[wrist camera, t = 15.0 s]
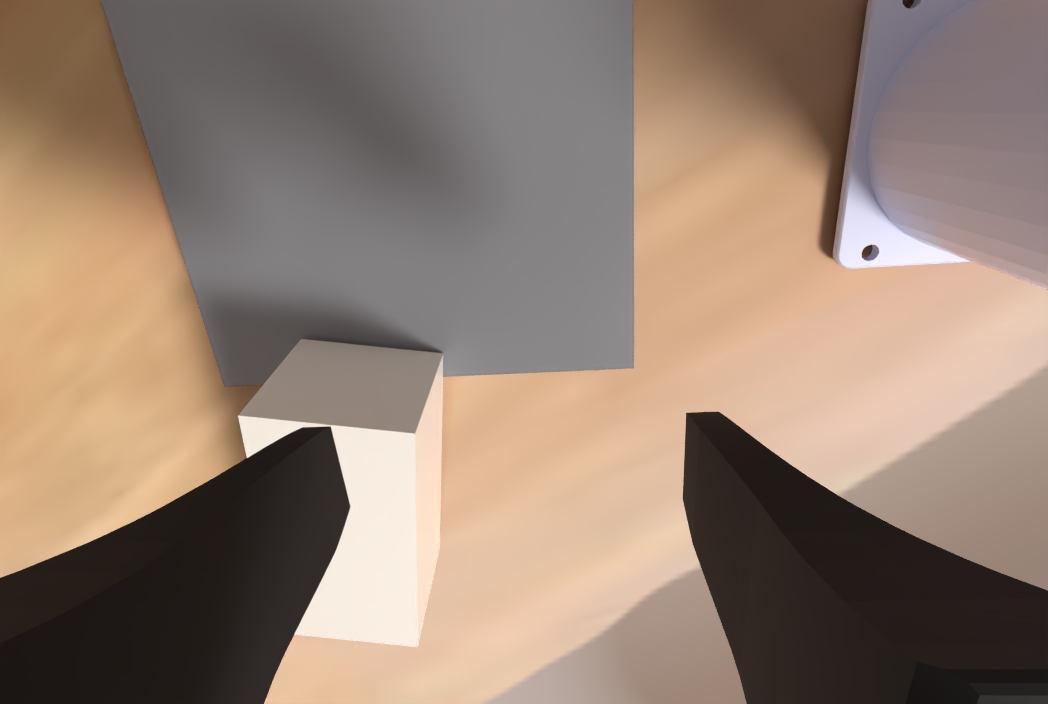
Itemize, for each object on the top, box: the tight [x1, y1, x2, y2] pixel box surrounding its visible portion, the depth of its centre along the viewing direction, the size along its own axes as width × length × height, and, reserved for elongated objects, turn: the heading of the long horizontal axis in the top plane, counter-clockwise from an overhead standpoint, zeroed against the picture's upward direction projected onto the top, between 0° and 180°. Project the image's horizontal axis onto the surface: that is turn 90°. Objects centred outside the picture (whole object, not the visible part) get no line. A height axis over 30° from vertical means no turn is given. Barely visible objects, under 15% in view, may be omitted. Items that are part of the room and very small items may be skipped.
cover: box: [238, 339, 443, 647], centre depth 20 cm, size 5×10×4 cm, turn 175°
